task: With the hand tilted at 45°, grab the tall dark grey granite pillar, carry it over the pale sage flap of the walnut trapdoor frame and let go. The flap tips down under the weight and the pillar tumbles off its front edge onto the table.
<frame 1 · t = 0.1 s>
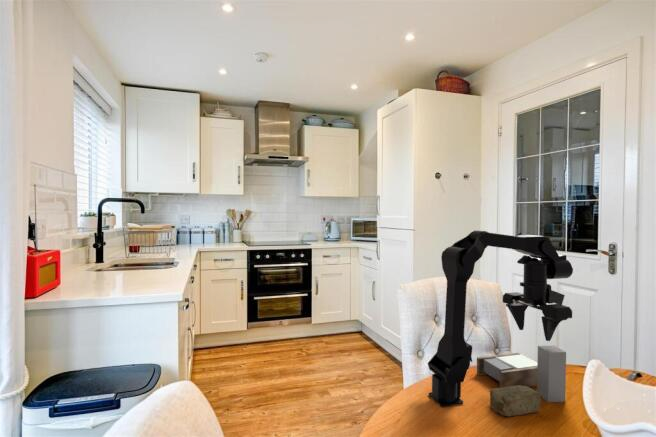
hand: (534, 335, 101), 15 cm above the table, tool pointing down, fingers open, 9 cm apart
trapdoor frame: (510, 378, 106), on the table
stone block: (514, 410, 90), on the table
trapdoor flap: (511, 367, 106), point 3 cm above the table, hinge at 0.0°
granite pillar: (550, 397, 96), on the table
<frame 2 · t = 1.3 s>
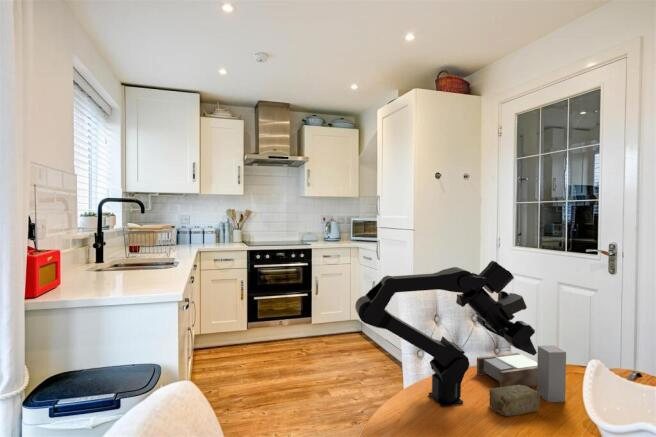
hand: (524, 347, 95), 14 cm above the table, tool tilted 45°, fingers open, 9 cm apart
nothing on the table moved.
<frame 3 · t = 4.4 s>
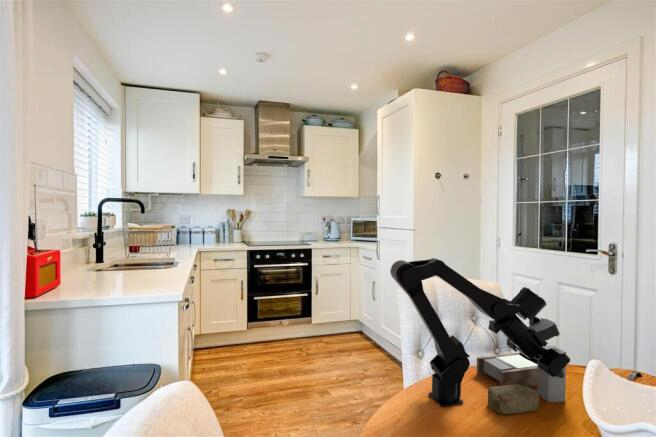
hand: (556, 372, 96), 7 cm above the table, tool tilted 45°, fingers closed on granite pillar, 5 cm apart
granite pillar: (550, 397, 96), on the table, touching gripper
when the fingers open (13 cm above the table, at t = 9.0 s): granite pillar drops 2 cm, resting on trapdoor flap.
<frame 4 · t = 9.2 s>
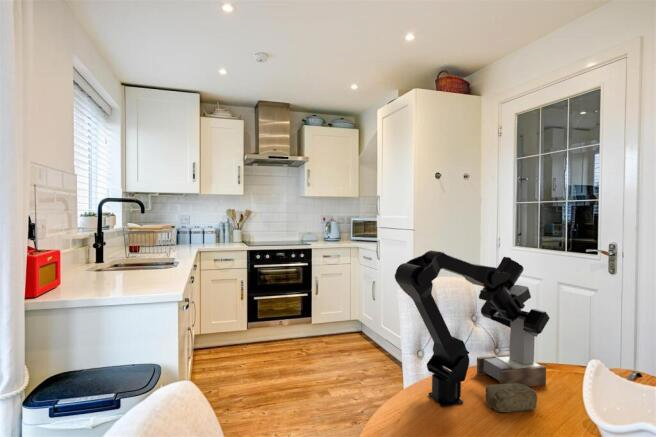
hand: (525, 331, 108), 14 cm above the table, tool tilted 45°, fingers open, 7 cm apart
trapdoor flap: (511, 368, 106), point 3 cm above the table, hinge at -2.3°, touching granite pillar
granite pillar: (521, 361, 107), point 5 cm above the table, touching trapdoor flap
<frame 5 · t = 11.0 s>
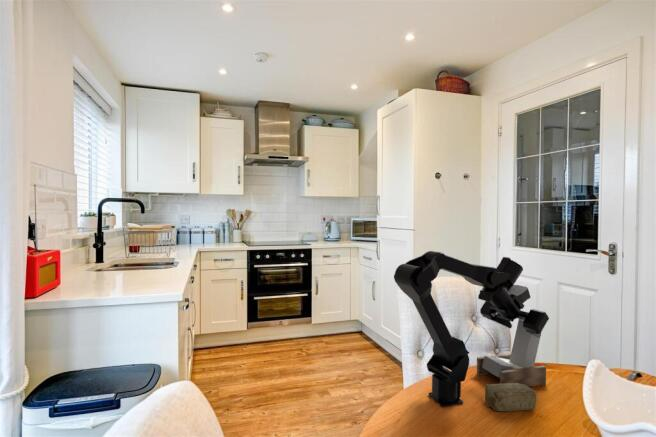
hand: (524, 331, 108), 14 cm above the table, tool tilted 45°, fingers open, 9 cm apart
trapdoor flap: (510, 369, 106), point 3 cm above the table, hinge at -14.0°, touching granite pillar
granite pillar: (521, 365, 107), point 4 cm above the table, tilted 14°, touching trapdoor flap
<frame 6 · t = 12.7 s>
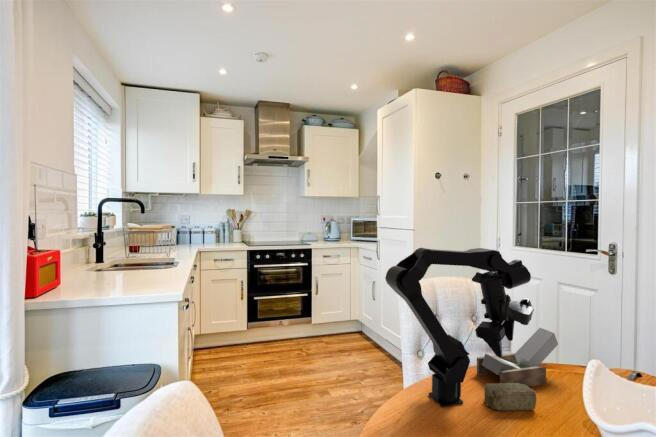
hand: (505, 348, 98), 12 cm above the table, tool pointing down, fingers open, 9 cm apart
trapdoor flap: (510, 370, 106), point 3 cm above the table, hinge at -21.5°, touching granite pillar
granite pillar: (523, 363, 108), point 4 cm above the table, tilted 58°, touching trapdoor flap
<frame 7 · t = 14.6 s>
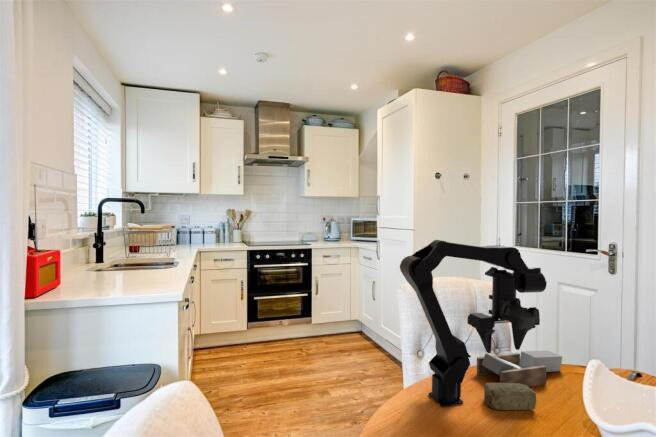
hand: (502, 351, 96), 12 cm above the table, tool pointing down, fingers open, 9 cm apart
trapdoor flap: (510, 370, 106), point 3 cm above the table, hinge at -22.7°, touching granite pillar
granite pillar: (526, 361, 108), point 4 cm above the table, tilted 98°, touching trapdoor flap
at the end: granite pillar moved 13.4 cm from its start; granite pillar tilted 98°; the gripper is holding nothing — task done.
